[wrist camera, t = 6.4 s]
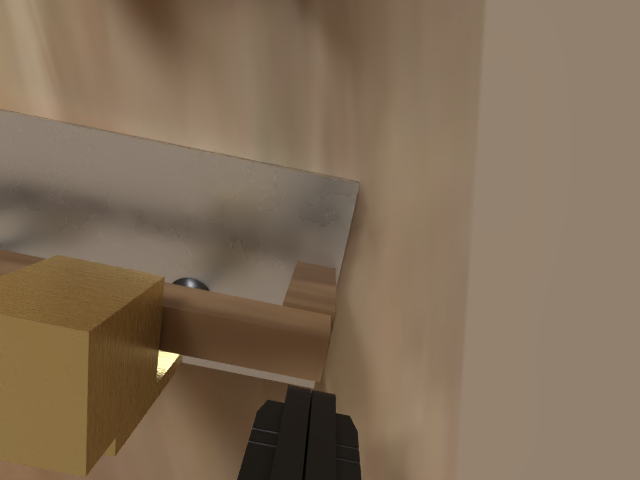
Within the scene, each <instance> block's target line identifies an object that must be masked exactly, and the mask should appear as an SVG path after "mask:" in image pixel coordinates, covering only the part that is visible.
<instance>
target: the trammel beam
mask: <svg viewBox="0 0 640 480" xmlns="http://www.w3.org/2000/svg"><path fill="white" fill-rule="evenodd" d="M45 259H46V258H41V257H36V256H31V255H26V254H21V253H16V252H11V251H6V250H1V249H0V276H2V275H5V274H8V273H10V272H13V271H16V270H18V269H21V268H24V267H26V266H29V265H32V264H34V263H37V262H40V261H42V260H45ZM335 315H336V269H335V268H330V267H325V266H320V265H315V264H310V263H305V262H300V261H297V263H296V266H295V269H294V272H293V275H292V278H291V281H290V283H289V286H288V289H287V292H286V295H285V298H284V301H283V306H282V305H277V304H272V303H267V302H262V301H257V300H252V299H247V298H242V297H237V296H232V295H227V294H222V293H217V292H212V291H207V290H202V289H197V288H192V287H187V286H182V285H177V284H172V283H166V282H164V294H163V306H162V318H161V330H160V342H159V351H164V352H169V353H174V354H179V355H184V356H189V357H194V358H199V359H204V360H209V361H214V362H219V363H225V364H230V365H235V366H240V367H245V368H250V369H255V370H260V371H265V372H270V373H275V374H280V375H285V376H290V377H295V378H300V379H305V380H310V381H316V382H321V378H322V373H323V369H324V365H325V360H326V356H327V352H328V347H329V343H330V337H331V333H332V328H333V324H334V320H335Z"/></svg>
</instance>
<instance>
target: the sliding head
mask: <svg viewBox="0 0 640 480" xmlns="http://www.w3.org/2000/svg"><path fill="white" fill-rule="evenodd" d="M164 282H165V276H162V275H157V274H152V273H147V272H142V271H137V270H132V269H127V268H122V267H117V266H112V265H107V264H102V263H97V262H92V261H87V260H82V259H77V258H72V257H67V256H62V255H56V256H53V257H50V258H48V259H45V260H42V261H40V262H37V263H34V264H32V265H29V266H26V267H24V268H21V269H18V270H16V271H13V272H10V273H8V274H5V275H2V276H0V461H5V462H10V463H15V464H21V465H26V466H31V467H36V468H41V469H46V470H52V471H57V472H62V473H67V474H72V475H77V476H83V477H86V476H87V475H88V473H89V472H90V471H91V470H92V468H93V467H94V466H95V464H96V463H97V462H98V460H99V459H100V458H101V456H102V455H103V454H104V455H109V456H114V457H115V456H116V454H117V453H118V452H119V450H120V449H121V448H122V446H123V445H124V443H125V442H126V441H127V439H128V438H129V436H130V435H131V434H132V432H133V431H134V429H135V428H136V427H137V425H138V424H139V423H140V421H141V420H142V418H143V417H144V416H145V414H146V413H147V411H148V410H149V409H150V407H151V406H152V404H153V403H154V402H155V400H156V399H157V398H158V396H159V395H160V393H161V392H162V391H163V389H164V388H165V386H166V385H167V384H168V382H169V381H170V379H171V378H172V377H173V375H174V374H175V373H176V371H177V370H178V368H179V367H180V366H181V364H182V360H183V355H179V354H174V353H169V352H164V351H159V342H160V330H161V318H162V306H163V294H164Z"/></svg>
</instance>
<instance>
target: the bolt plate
mask: <svg viewBox="0 0 640 480" xmlns="http://www.w3.org/2000/svg"><path fill="white" fill-rule="evenodd" d="M359 186H360V183H359V182H357V181H352V180H347V179H342V178H337V177H332V176H327V175H322V174H317V173H313V172H308V171H303V170H298V169H293V168H288V167H283V166H278V165H273V164H268V163H263V162H259V161H254V160H249V159H244V158H239V157H234V156H229V155H224V154H219V153H214V152H209V151H204V150H200V149H195V148H190V147H185V146H180V145H175V144H170V143H165V142H160V141H155V140H150V139H146V138H141V137H136V136H131V135H126V134H121V133H116V132H111V131H106V130H101V129H96V128H91V127H87V126H82V125H77V124H72V123H67V122H62V121H57V120H52V119H47V118H42V117H37V116H33V115H28V114H23V113H18V112H13V111H8V110H3V109H0V249H1V250H6V251H11V252H16V253H21V254H26V255H31V256H36V257H41V258H46V259H48V258H50V257H53V256H56V255H62V256H67V257H72V258H77V259H82V260H87V261H92V262H97V263H102V264H107V265H112V266H117V267H122V268H127V269H132V270H137V271H142V272H147V273H152V274H157V275H162V276H165V282H166V283H172V284H177V285H182V286H187V287H192V288H197V289H202V290H207V291H212V292H217V293H222V294H227V295H232V296H237V297H242V298H247V299H252V300H257V301H262V302H267V303H272V304H277V305H282V306H283V301H284V298H285V295H286V292H287V289H288V286H289V283H290V281H291V278H292V275H293V272H294V269H295V266H296V263H297V261H300V262H305V263H310V264H315V265H320V266H325V267H330V268H335V269H336V288H337V283H338V279H339V274H340V270H341V266H342V261H343V257H344V252H345V248H346V243H347V239H348V235H349V230H350V226H351V221H352V217H353V212H354V208H355V204H356V199H357V195H358V190H359ZM182 363H187V364H192V365H197V366H202V367H207V368H212V369H217V370H222V371H227V372H232V373H238V374H243V375H248V376H253V377H258V378H263V379H268V380H273V381H278V382H283V383H288V384H293V385H298V386H303V387H308V388H313V389H314V385H315V381H310V380H305V379H300V378H295V377H290V376H285V375H280V374H275V373H270V372H265V371H260V370H255V369H250V368H245V367H240V366H235V365H230V364H225V363H219V362H214V361H209V360H204V359H199V358H194V357H189V356H184V355H183V360H182Z"/></svg>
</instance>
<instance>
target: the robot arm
mask: <svg viewBox="0 0 640 480" xmlns="http://www.w3.org/2000/svg"><path fill="white" fill-rule="evenodd" d="M310 395H311V397H310ZM358 449H359V444H358V432H357V429H356V427H355V425H354V423H353V421H352V420H351V418H350V416H348V415H343V414H337V413H336V396H335V394H330V393H325V392H320V391H315V390H312V393H311V390H309V389H304V388H299V387H294V386H289V385H288V389H287V394H286V399H285V403H281V402H276V401H271V400H267V401H266V402H265V404H264V405H263V406H262V407H261V408H260V409H259V410H258V411H257V414H256V418H255V421H254V424H253V428H252V431H251V435H250V438H249V442H248V445H247V448H246V451H245V455H244V458H243V462H242V465H241V468H240V472H239V475H238V479H237V480H361V469H360V457H359V451H358Z"/></svg>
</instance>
